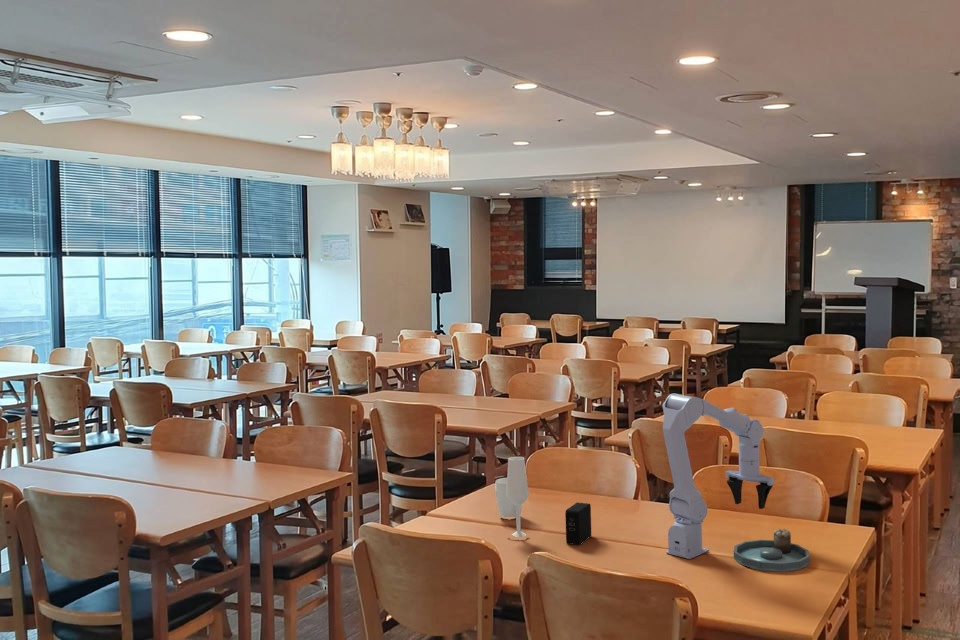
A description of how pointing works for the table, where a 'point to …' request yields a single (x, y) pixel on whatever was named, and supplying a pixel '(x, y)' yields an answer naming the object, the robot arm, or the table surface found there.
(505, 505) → the cup
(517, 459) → the champagne flute
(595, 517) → the table surface
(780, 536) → the brown ball-rimmed cylinder
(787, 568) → the round groove tray
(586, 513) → the electronic device
